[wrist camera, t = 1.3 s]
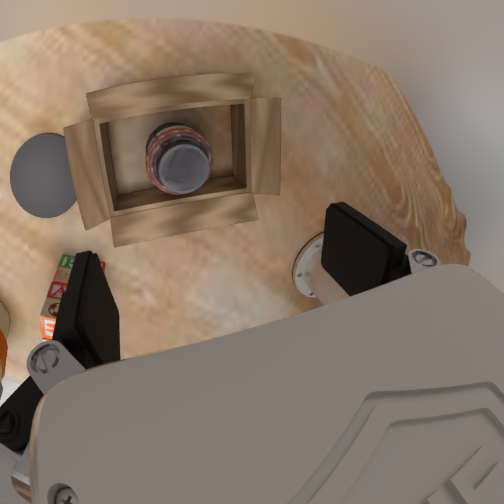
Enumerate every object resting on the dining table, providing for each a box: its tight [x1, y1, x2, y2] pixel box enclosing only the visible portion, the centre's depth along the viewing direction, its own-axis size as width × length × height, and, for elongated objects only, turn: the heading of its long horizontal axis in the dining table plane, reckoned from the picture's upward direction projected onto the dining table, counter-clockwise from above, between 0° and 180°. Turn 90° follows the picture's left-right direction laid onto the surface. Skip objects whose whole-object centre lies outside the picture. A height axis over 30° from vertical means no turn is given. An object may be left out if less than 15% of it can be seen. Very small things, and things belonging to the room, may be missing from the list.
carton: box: [63, 73, 281, 247], centre depth 27 cm, size 20×15×7 cm
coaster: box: [10, 133, 77, 218], centre depth 25 cm, size 10×10×1 cm
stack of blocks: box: [40, 255, 105, 342], centre depth 31 cm, size 21×6×12 cm, turn 156°
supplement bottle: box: [146, 123, 213, 194], centre depth 25 cm, size 6×6×11 cm
